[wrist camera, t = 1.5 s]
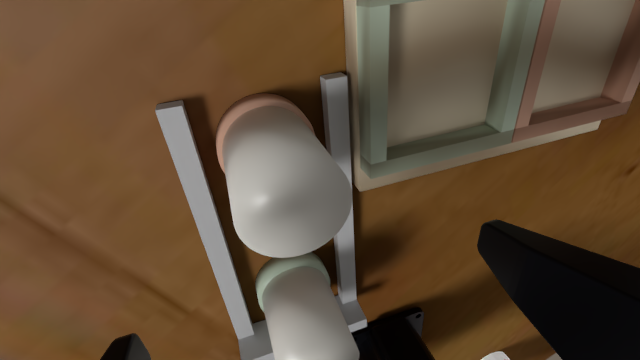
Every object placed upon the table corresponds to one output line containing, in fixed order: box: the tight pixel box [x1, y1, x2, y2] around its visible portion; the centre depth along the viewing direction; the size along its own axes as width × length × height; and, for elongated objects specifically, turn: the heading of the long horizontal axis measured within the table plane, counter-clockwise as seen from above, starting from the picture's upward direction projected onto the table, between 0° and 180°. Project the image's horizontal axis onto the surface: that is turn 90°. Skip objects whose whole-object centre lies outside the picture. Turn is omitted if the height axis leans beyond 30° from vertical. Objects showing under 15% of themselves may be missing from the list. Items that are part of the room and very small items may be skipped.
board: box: [344, 0, 640, 192], centre depth 17 cm, size 11×16×2 cm
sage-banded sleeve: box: [255, 252, 359, 360], centre depth 18 cm, size 4×4×6 cm
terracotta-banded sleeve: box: [216, 93, 352, 258], centre depth 13 cm, size 4×4×6 cm
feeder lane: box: [155, 72, 367, 360], centre depth 18 cm, size 16×8×2 cm, turn 5°
